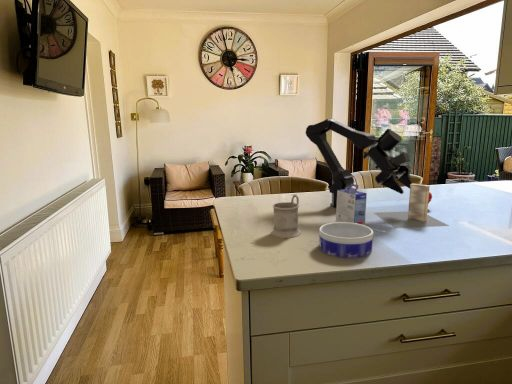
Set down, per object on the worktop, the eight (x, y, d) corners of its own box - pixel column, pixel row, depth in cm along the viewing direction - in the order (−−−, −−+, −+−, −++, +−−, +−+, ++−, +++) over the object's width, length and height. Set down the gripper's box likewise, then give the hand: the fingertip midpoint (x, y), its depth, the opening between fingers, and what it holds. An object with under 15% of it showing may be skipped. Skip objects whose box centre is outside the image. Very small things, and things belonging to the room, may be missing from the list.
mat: (395, 228, 122) (395, 227, 122) (373, 213, 142) (373, 212, 142) (449, 226, 124) (449, 225, 123) (419, 211, 143) (419, 210, 143)
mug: (292, 239, 114) (292, 203, 111) (265, 235, 119) (265, 199, 117) (310, 227, 126) (311, 194, 123) (285, 223, 131) (285, 191, 128)
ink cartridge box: (366, 226, 125) (367, 186, 123) (354, 229, 123) (355, 188, 120) (346, 220, 134) (348, 182, 131) (335, 222, 132) (336, 183, 129)
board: (407, 218, 133) (410, 184, 130) (410, 217, 134) (412, 183, 132) (424, 221, 128) (427, 186, 126) (426, 220, 130) (429, 185, 127)
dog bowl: (381, 257, 99) (382, 236, 97) (326, 260, 98) (327, 239, 96) (360, 239, 114) (361, 220, 112) (313, 241, 112) (313, 223, 111)
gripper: (384, 147, 126) (414, 181, 121) (407, 143, 139) (435, 174, 133) (363, 167, 134) (390, 200, 128) (387, 162, 146) (413, 192, 140)
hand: (408, 191), depth 132 cm, fingers open, 9 cm apart
